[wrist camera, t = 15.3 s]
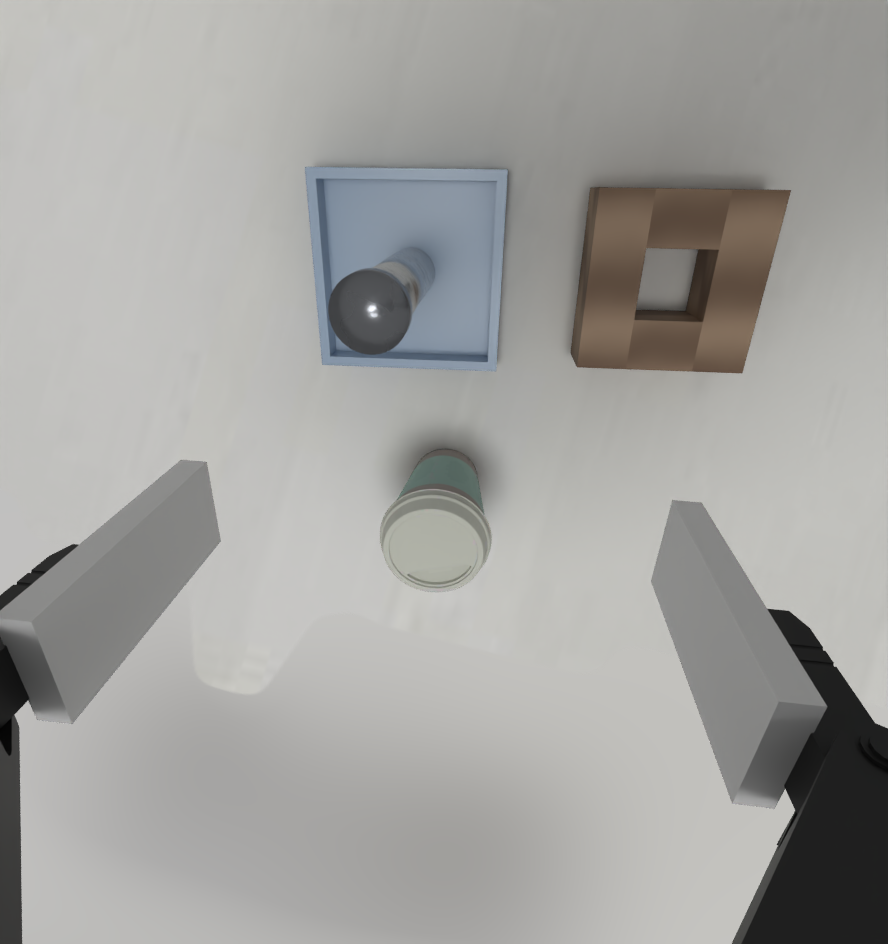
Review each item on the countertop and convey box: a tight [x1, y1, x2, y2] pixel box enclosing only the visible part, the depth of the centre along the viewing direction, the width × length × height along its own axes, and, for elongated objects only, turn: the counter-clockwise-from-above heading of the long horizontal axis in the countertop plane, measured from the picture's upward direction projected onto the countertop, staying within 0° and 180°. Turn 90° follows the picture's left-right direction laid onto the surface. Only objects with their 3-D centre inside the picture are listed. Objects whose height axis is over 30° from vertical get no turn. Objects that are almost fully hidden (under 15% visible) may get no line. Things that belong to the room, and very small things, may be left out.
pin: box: [328, 247, 435, 355], centre depth 35 cm, size 4×4×16 cm
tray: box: [305, 167, 508, 371], centre depth 42 cm, size 14×14×2 cm
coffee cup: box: [380, 449, 492, 592], centre depth 46 cm, size 9×9×12 cm
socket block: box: [571, 187, 791, 373], centre depth 40 cm, size 12×12×4 cm
